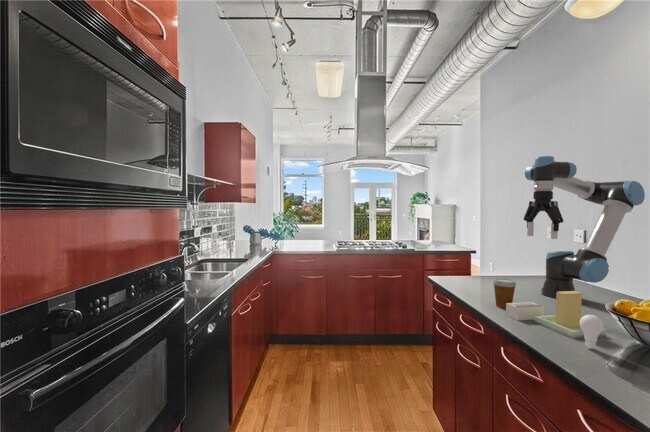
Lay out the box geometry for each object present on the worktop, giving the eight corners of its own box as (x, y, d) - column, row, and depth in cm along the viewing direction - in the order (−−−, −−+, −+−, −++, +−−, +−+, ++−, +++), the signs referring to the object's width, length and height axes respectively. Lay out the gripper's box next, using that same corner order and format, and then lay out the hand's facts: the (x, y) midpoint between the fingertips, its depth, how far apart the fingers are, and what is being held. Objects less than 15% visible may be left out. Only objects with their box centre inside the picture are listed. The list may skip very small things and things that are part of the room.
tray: (564, 320, 141) (564, 314, 141) (605, 336, 125) (606, 329, 124) (534, 322, 139) (534, 316, 138) (572, 338, 122) (572, 331, 122)
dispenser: (530, 313, 150) (531, 300, 150) (543, 318, 143) (544, 305, 143) (505, 315, 147) (506, 301, 147) (517, 320, 141) (518, 306, 140)
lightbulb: (574, 345, 116) (575, 312, 116) (591, 344, 116) (592, 312, 116) (589, 353, 110) (590, 318, 110) (607, 352, 110) (608, 318, 110)
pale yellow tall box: (573, 324, 134) (574, 290, 133) (580, 327, 131) (581, 292, 130) (555, 325, 132) (556, 291, 132) (562, 328, 129) (563, 293, 129)
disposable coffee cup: (518, 310, 155) (519, 283, 154) (495, 308, 157) (496, 281, 156) (511, 304, 164) (512, 278, 164) (489, 302, 166) (490, 277, 165)
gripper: (516, 191, 171) (514, 234, 172) (559, 189, 147) (557, 240, 148) (529, 191, 173) (528, 234, 173) (574, 189, 148) (572, 239, 149)
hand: (541, 237), depth 160 cm, fingers open, 13 cm apart
